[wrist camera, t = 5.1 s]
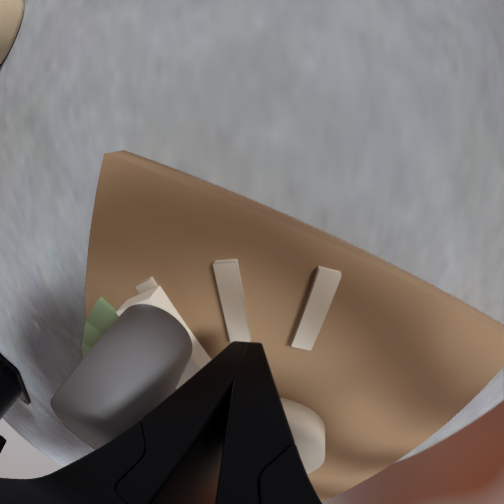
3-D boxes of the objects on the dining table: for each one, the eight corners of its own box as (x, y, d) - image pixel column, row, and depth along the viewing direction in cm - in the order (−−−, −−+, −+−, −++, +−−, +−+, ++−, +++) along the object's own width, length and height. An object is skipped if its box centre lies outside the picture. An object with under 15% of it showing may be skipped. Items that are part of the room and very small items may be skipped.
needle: (339, 446, 12) (338, 535, 7) (238, 460, 14) (220, 536, 9) (222, 252, 9) (140, 389, 4) (99, 307, 10) (18, 396, 6)
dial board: (323, 489, 17) (323, 504, 16) (99, 414, 17) (90, 428, 16) (510, 329, 10) (524, 347, 8) (123, 150, 9) (99, 154, 8)
